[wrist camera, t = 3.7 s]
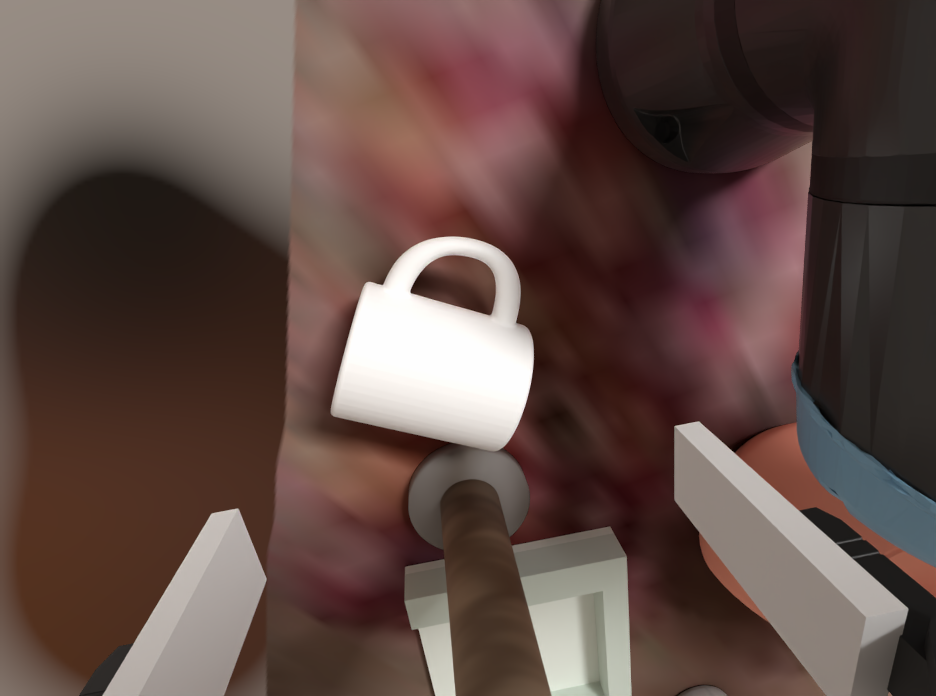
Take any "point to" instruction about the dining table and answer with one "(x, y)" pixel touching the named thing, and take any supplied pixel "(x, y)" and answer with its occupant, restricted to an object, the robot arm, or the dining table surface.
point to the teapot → (804, 505)
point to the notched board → (546, 613)
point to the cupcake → (703, 691)
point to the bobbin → (480, 566)
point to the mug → (438, 355)
